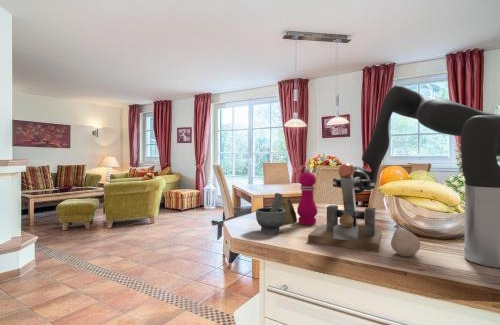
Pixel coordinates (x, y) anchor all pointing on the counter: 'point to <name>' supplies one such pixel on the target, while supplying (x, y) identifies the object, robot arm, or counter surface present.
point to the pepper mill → (307, 199)
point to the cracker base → (343, 243)
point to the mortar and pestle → (271, 216)
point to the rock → (288, 210)
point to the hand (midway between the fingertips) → (349, 185)
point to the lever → (349, 194)
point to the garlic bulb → (404, 242)
